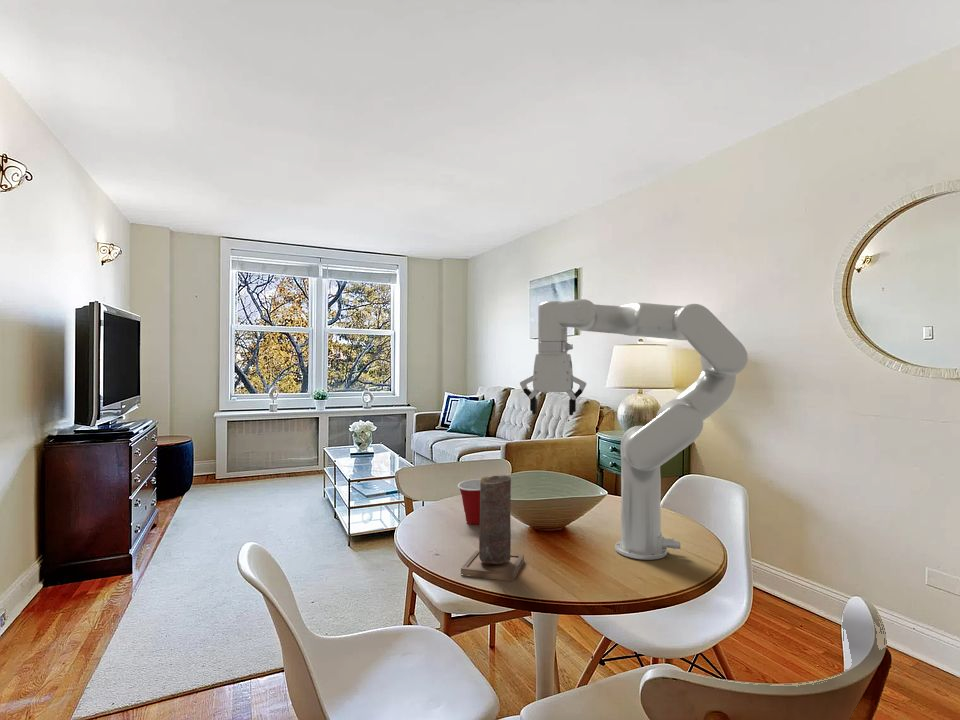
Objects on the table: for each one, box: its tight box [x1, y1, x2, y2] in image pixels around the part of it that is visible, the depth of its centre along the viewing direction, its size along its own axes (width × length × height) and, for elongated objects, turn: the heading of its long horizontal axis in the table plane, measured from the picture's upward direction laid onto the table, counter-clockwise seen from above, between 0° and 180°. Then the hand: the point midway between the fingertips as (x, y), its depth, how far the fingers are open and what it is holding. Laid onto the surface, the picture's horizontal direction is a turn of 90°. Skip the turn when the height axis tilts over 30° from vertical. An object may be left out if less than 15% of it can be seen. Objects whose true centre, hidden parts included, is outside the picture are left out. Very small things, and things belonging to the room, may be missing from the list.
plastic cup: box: [457, 478, 481, 527], centre depth 159 cm, size 11×11×12 cm
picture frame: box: [460, 549, 525, 582], centre depth 124 cm, size 12×12×2 cm
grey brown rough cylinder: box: [478, 474, 512, 564], centre depth 124 cm, size 8×7×20 cm
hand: (552, 414), depth 139 cm, fingers open, 9 cm apart
